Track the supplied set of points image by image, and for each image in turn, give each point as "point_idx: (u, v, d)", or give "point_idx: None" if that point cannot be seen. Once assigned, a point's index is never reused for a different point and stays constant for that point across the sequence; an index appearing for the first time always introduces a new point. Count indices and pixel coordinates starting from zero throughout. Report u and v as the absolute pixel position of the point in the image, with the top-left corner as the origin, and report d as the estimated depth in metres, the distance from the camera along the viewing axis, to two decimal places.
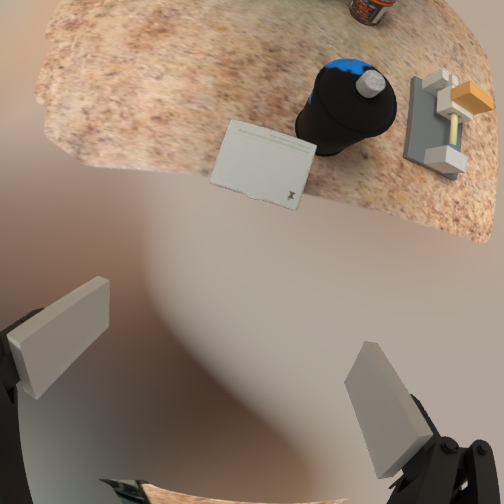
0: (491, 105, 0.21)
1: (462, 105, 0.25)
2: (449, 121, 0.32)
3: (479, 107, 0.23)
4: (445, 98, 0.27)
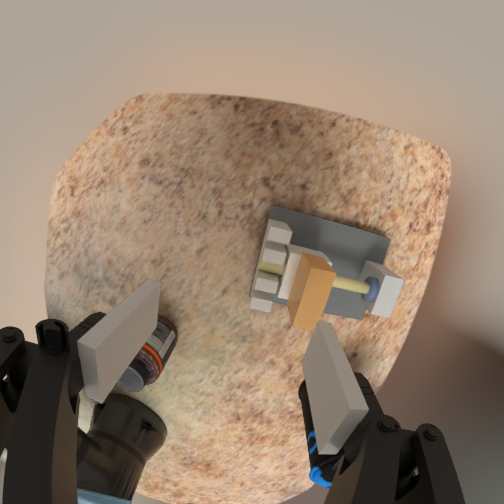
0: (328, 276, 0.19)
1: None
2: (311, 244, 0.31)
3: None
4: None
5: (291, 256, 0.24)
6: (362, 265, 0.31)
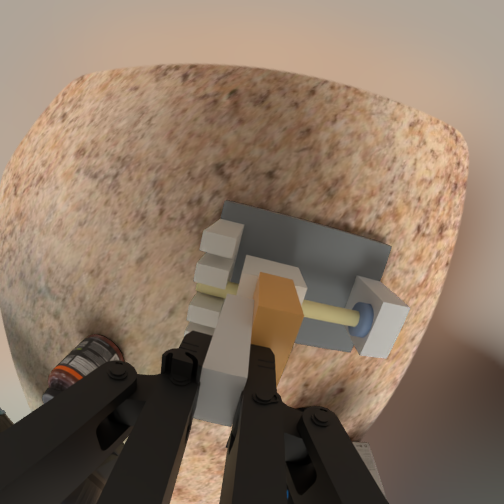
0: (289, 321, 0.11)
1: None
2: (279, 254, 0.22)
3: None
4: None
5: (243, 277, 0.16)
6: (352, 282, 0.23)
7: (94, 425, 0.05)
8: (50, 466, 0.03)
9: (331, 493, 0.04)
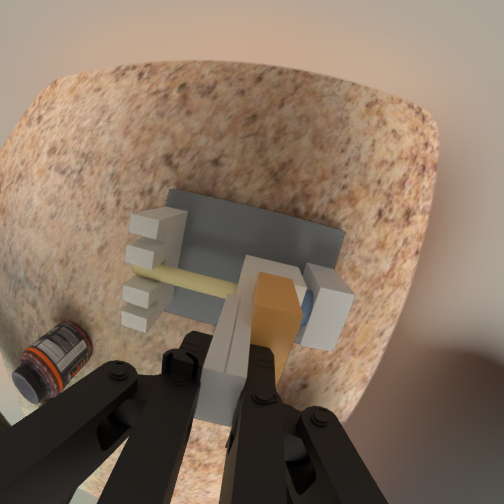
0: (288, 321, 0.11)
1: None
2: (222, 240, 0.22)
3: None
4: None
5: (242, 277, 0.16)
6: (301, 270, 0.23)
7: (95, 426, 0.05)
8: (50, 466, 0.03)
9: (330, 493, 0.04)
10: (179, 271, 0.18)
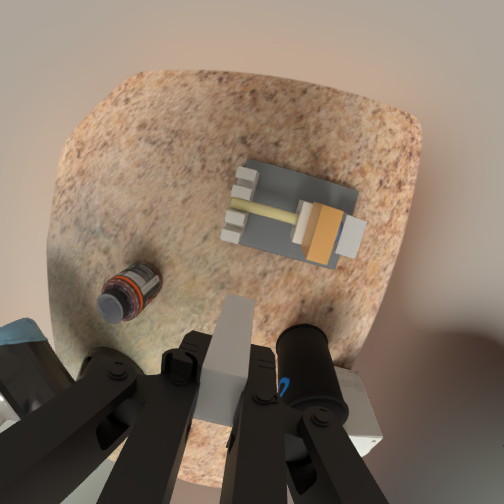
0: (337, 214, 0.23)
1: None
2: (282, 193, 0.34)
3: None
4: None
5: (304, 205, 0.27)
6: None
7: (94, 425, 0.05)
8: (50, 466, 0.03)
9: (331, 493, 0.04)
10: (262, 205, 0.30)
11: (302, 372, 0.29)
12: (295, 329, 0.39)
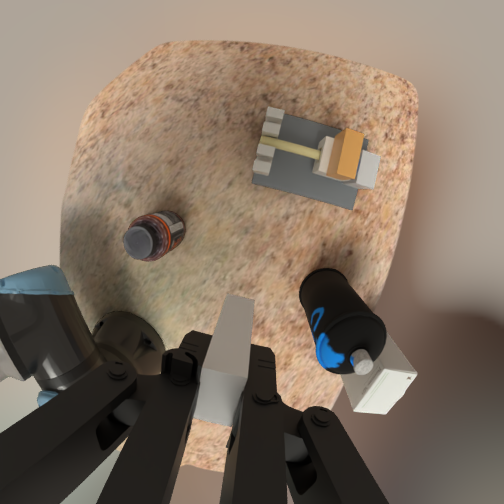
0: (359, 136, 0.24)
1: None
2: (301, 139, 0.35)
3: None
4: None
5: (327, 138, 0.29)
6: None
7: (94, 425, 0.05)
8: (50, 466, 0.03)
9: (331, 493, 0.04)
10: (288, 142, 0.31)
11: (335, 299, 0.30)
12: (318, 273, 0.40)
